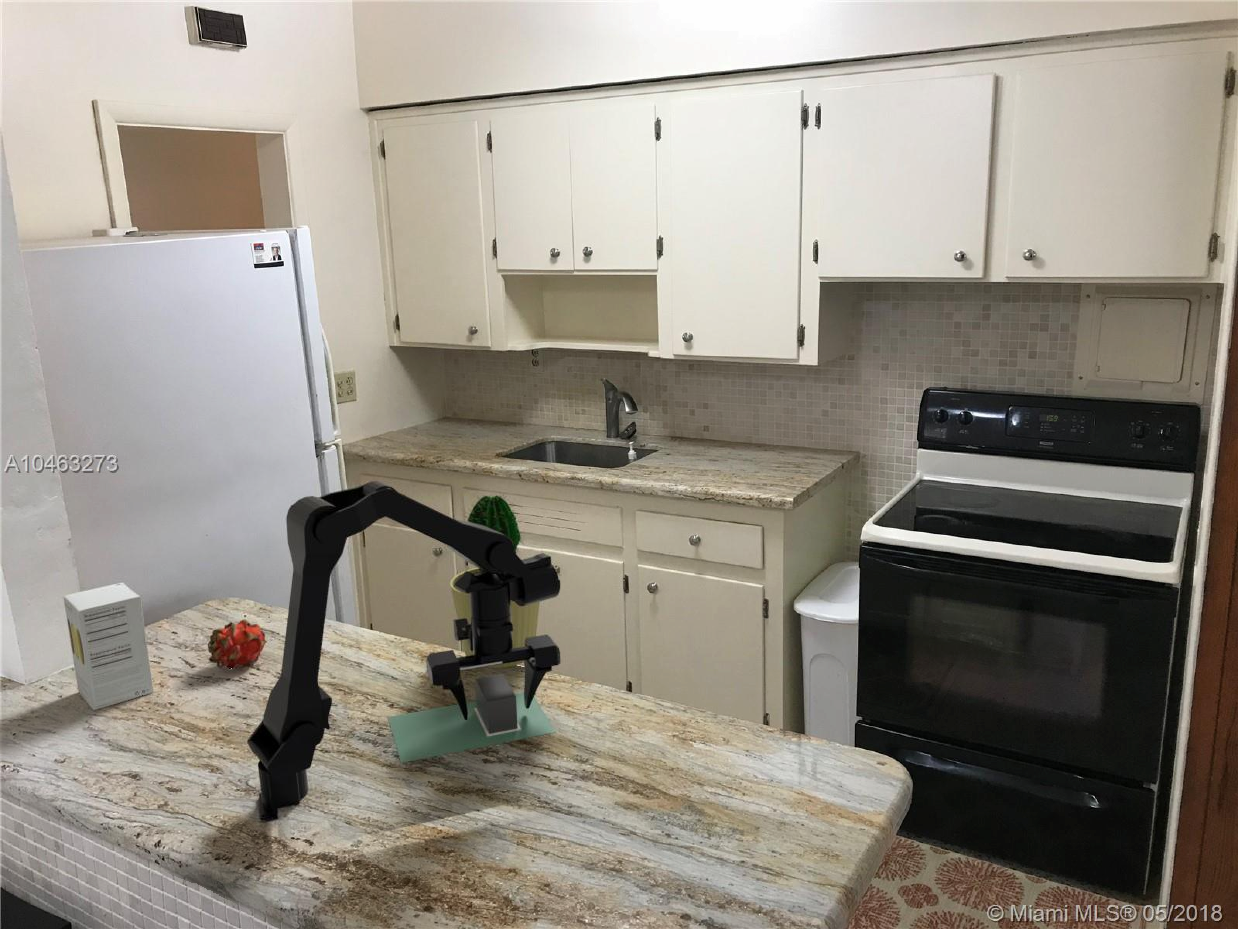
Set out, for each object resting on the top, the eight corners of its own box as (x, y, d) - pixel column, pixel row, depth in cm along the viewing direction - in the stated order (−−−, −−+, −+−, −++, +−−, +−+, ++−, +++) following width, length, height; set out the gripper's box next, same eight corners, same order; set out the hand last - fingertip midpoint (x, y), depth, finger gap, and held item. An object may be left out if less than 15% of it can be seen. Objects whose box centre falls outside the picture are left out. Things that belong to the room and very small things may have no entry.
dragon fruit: (208, 688, 163) (260, 669, 174) (240, 664, 160) (291, 646, 171) (185, 643, 164) (238, 627, 175) (216, 619, 161) (268, 604, 172)
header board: (556, 741, 140) (555, 712, 139) (401, 772, 133) (399, 742, 132) (531, 699, 153) (529, 673, 152) (388, 726, 145) (386, 698, 144)
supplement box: (76, 692, 159) (61, 595, 155) (136, 674, 165) (123, 580, 161) (93, 712, 152) (77, 610, 148) (155, 692, 158) (141, 595, 154)
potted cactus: (560, 649, 171) (554, 484, 164) (520, 686, 157) (511, 507, 150) (483, 638, 177) (473, 477, 170) (438, 673, 163) (426, 500, 156)
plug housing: (517, 728, 141) (516, 696, 139) (489, 734, 139) (487, 702, 138) (499, 695, 151) (498, 665, 150) (472, 700, 149) (470, 670, 148)
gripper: (538, 586, 150) (542, 680, 154) (417, 604, 144) (424, 701, 148) (559, 611, 140) (563, 710, 144) (429, 631, 134) (436, 734, 137)
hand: (496, 713), depth 143 cm, fingers open, 9 cm apart
